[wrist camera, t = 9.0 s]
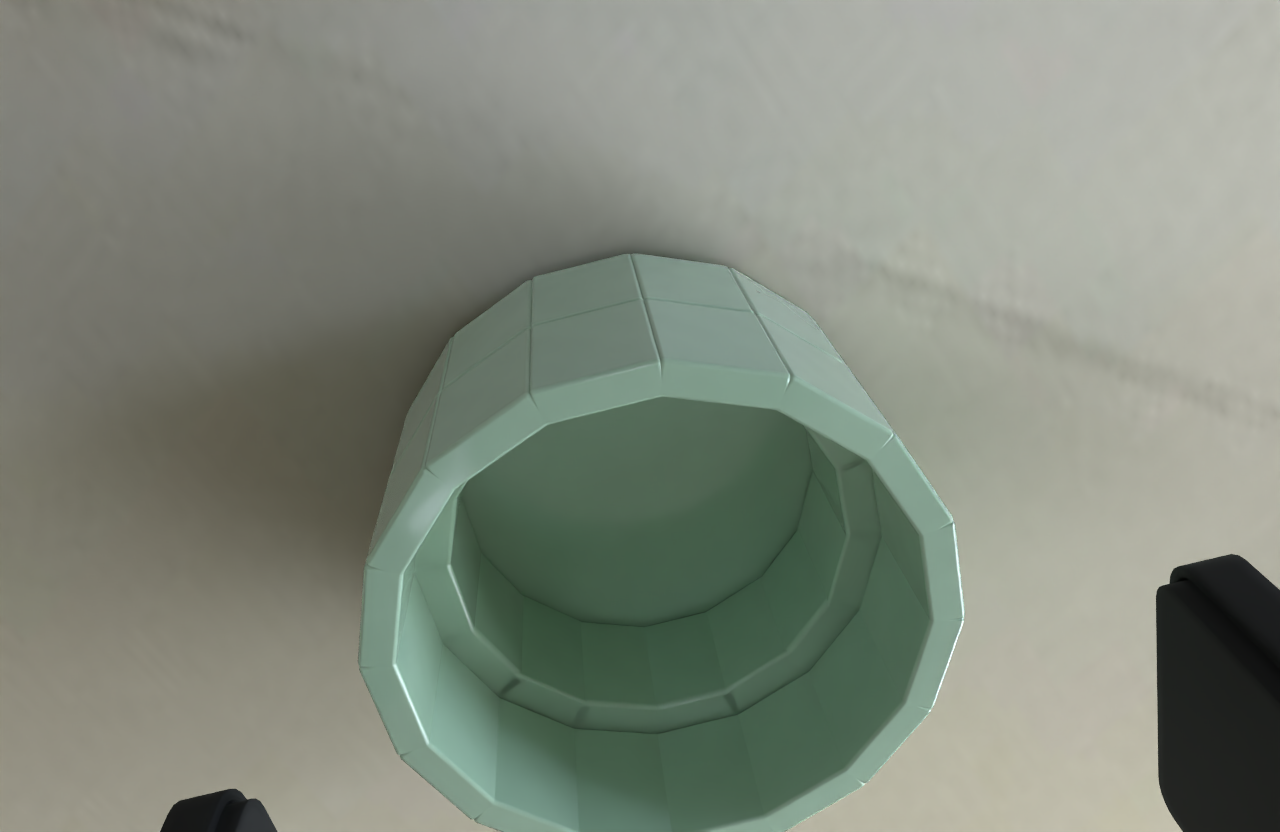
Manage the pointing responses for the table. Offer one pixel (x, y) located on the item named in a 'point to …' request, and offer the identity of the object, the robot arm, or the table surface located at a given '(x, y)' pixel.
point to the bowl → (652, 562)
